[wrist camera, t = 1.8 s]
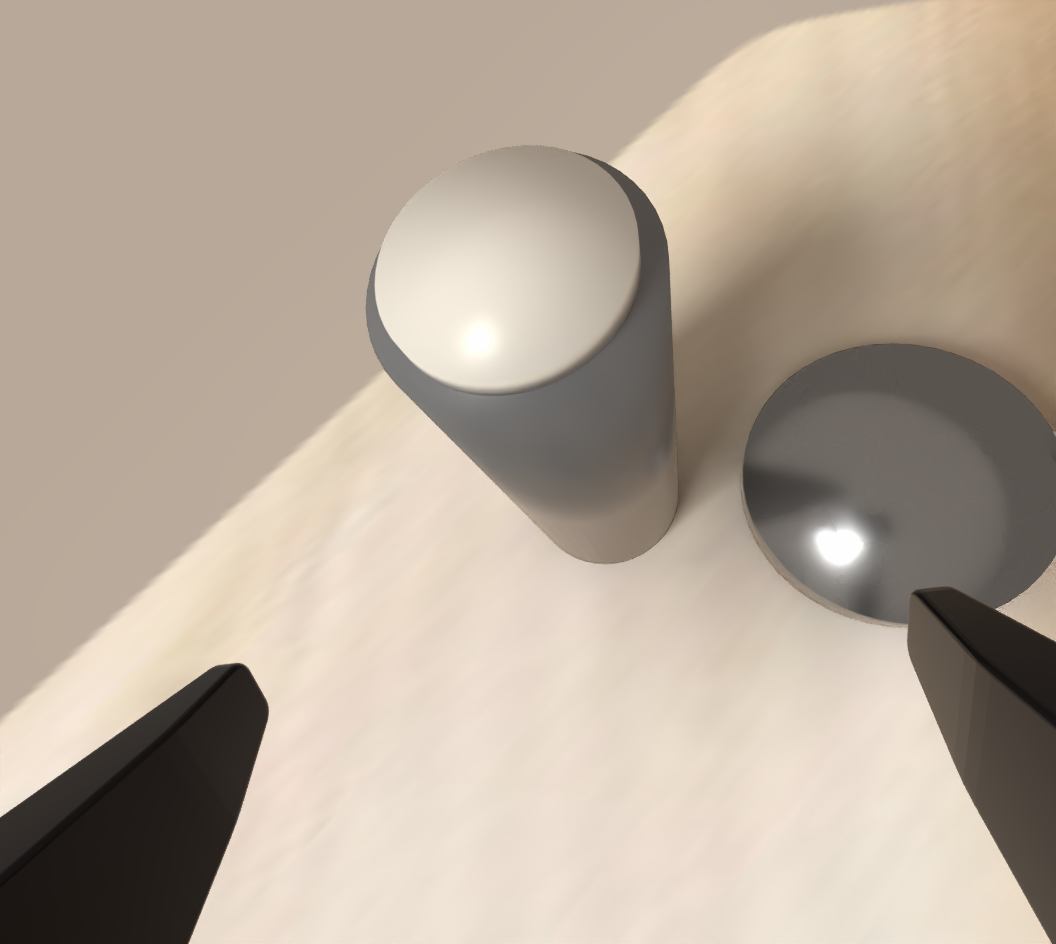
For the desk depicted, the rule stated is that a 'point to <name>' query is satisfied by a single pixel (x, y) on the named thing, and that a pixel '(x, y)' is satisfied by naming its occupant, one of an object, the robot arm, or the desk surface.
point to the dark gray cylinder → (540, 339)
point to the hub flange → (901, 481)
